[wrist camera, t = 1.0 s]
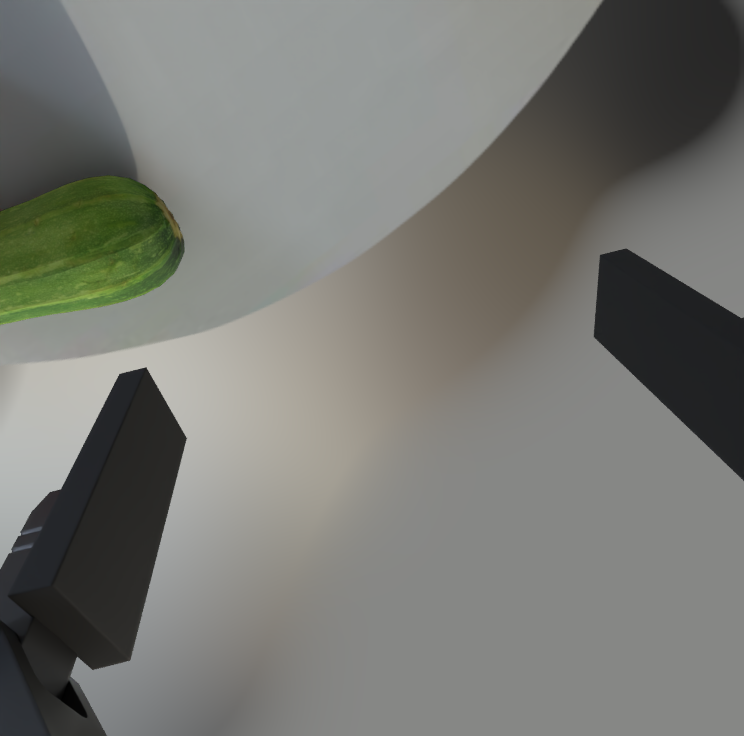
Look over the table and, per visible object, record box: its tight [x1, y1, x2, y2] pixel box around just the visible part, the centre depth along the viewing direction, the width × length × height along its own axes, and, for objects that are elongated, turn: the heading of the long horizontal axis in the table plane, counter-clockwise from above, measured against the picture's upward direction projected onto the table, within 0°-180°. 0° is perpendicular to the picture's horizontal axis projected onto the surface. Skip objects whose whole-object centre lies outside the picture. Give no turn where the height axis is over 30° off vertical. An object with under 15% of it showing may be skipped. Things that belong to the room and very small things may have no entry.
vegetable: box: [0, 175, 184, 325], centre depth 30 cm, size 7×7×20 cm
